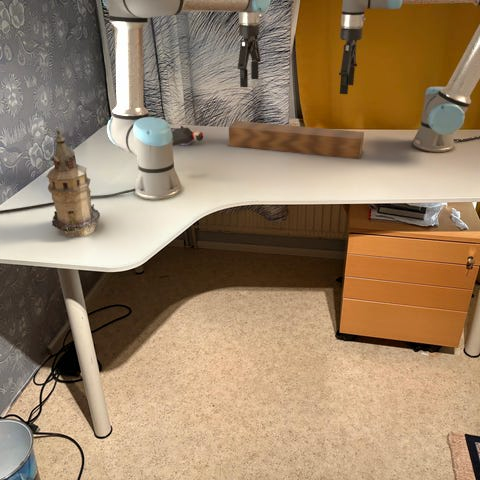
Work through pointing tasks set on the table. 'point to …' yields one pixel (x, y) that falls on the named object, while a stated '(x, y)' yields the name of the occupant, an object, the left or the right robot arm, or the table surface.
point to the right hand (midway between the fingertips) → (346, 89)
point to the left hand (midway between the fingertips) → (249, 83)
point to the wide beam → (296, 139)
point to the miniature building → (70, 193)
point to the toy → (185, 136)
